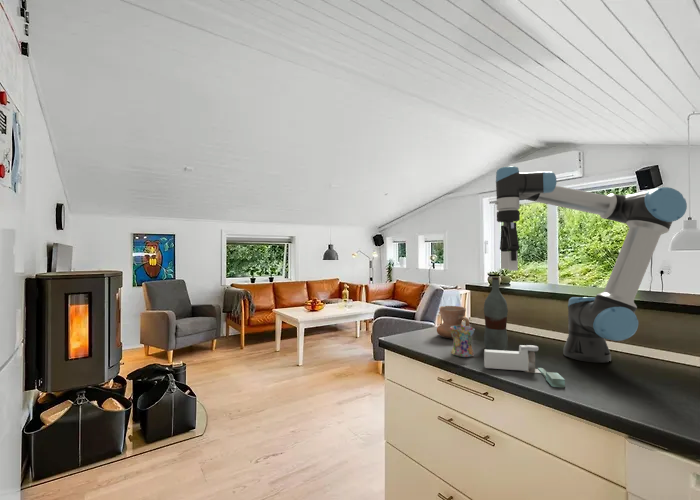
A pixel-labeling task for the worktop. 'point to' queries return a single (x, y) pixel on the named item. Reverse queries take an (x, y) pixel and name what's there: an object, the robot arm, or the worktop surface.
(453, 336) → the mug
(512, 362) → the hinged leg
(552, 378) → the stool seat
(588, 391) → the worktop surface
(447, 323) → the ceramic jug
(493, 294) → the bottle
